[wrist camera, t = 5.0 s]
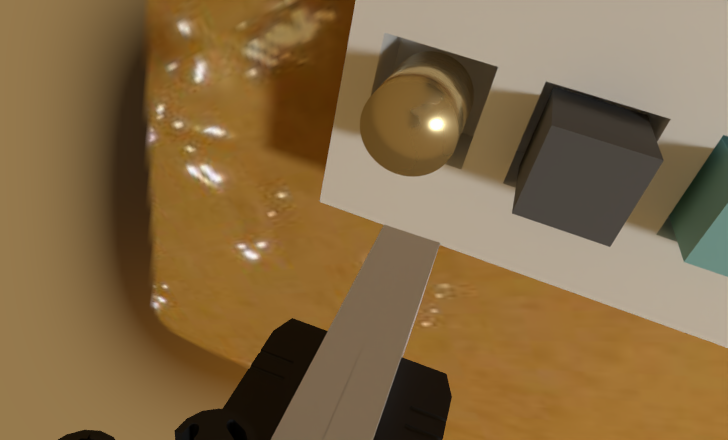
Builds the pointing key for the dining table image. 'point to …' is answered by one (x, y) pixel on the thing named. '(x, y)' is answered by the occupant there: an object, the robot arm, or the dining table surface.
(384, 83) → the gold metal cylinder
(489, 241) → the white slotted tray
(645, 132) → the dark grey cube
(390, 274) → the robot arm
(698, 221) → the teal cube
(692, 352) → the dining table surface
